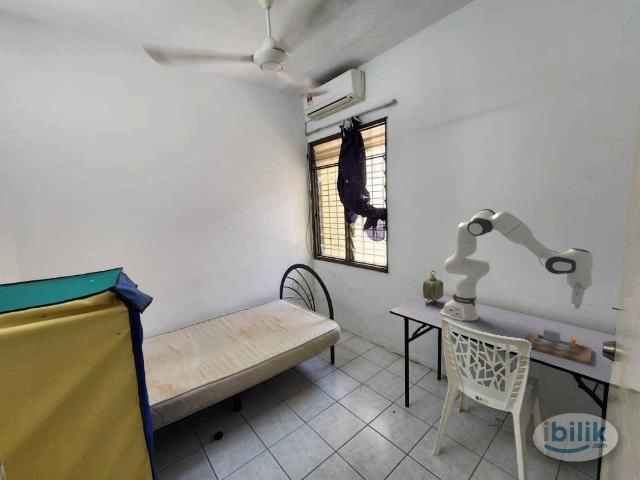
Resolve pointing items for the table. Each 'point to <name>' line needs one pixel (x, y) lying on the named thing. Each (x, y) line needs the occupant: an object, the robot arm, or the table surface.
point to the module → (551, 336)
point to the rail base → (561, 348)
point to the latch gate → (573, 341)
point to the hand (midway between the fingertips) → (577, 308)
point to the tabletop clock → (432, 289)
